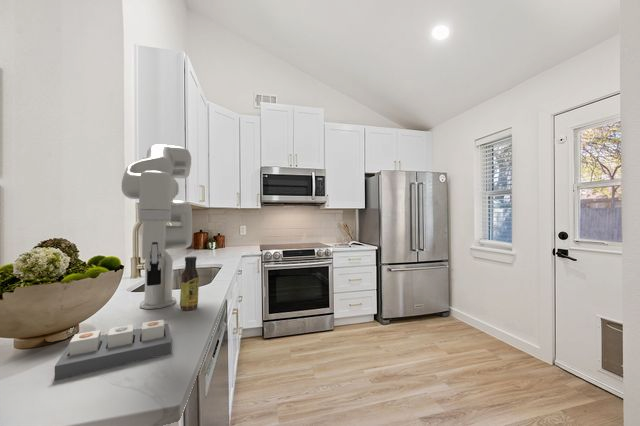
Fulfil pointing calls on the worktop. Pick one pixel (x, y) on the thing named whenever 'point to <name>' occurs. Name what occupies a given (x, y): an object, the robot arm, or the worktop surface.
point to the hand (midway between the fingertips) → (153, 283)
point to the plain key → (120, 336)
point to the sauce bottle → (189, 285)
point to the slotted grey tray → (112, 355)
